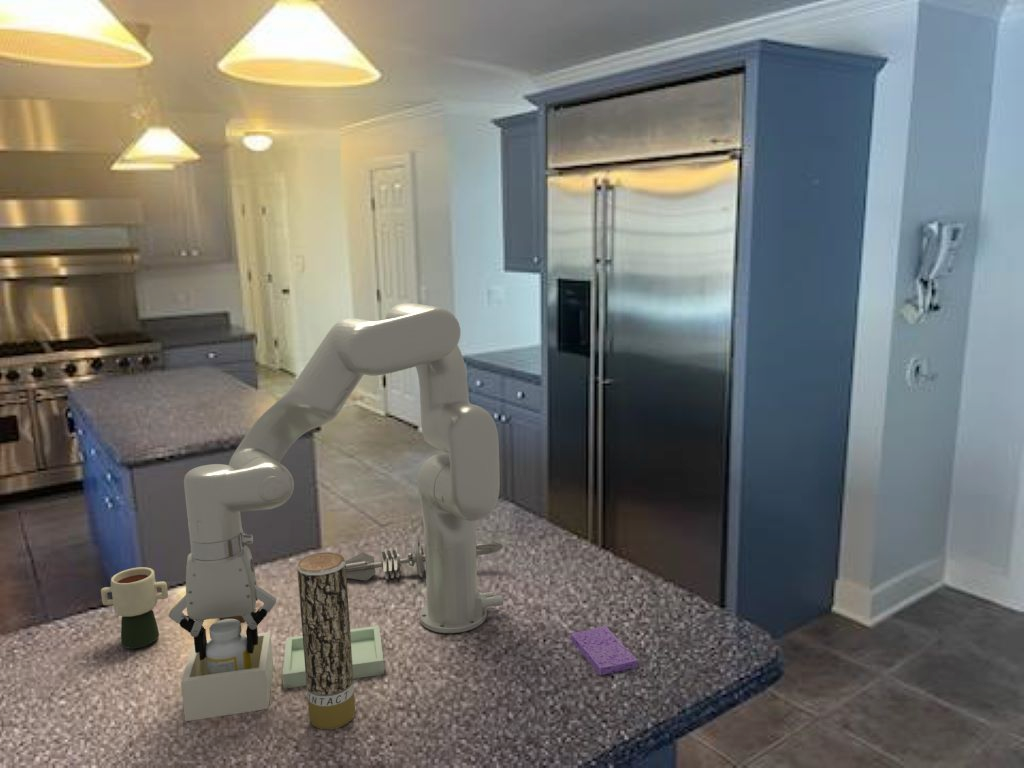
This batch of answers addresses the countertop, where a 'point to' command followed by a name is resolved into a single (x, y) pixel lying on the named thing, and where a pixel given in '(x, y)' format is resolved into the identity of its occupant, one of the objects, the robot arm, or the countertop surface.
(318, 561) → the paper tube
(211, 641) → the pill bottle
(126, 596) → the character mug
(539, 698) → the countertop surface
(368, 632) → the tray
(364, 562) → the spaceship
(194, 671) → the cream square frame
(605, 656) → the sponges
